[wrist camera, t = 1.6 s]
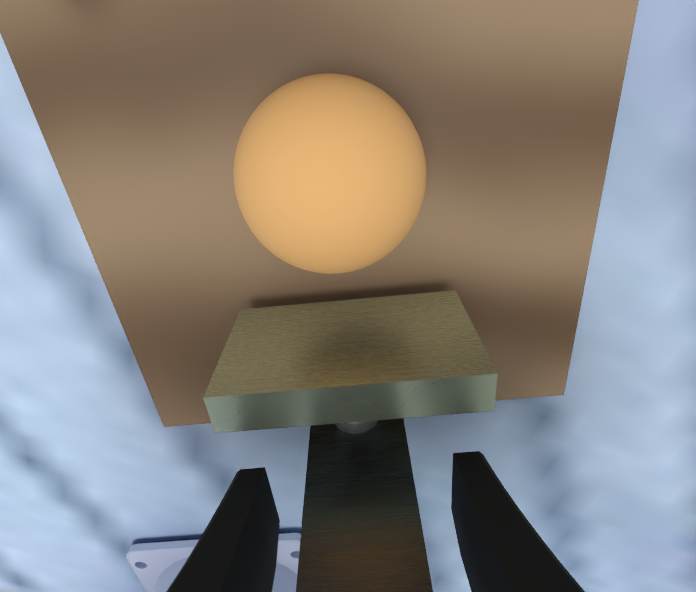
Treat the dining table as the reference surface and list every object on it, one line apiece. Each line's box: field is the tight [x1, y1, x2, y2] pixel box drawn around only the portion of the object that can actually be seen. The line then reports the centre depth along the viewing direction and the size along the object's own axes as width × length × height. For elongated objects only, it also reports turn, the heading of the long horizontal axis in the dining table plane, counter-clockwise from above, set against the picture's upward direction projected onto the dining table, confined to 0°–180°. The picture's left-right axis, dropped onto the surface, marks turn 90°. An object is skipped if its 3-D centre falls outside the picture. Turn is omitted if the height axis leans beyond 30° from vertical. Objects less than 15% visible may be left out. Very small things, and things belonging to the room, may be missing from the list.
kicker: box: [203, 290, 498, 592], centre depth 9 cm, size 5×6×8 cm
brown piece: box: [0, 0, 639, 427], centre depth 8 cm, size 20×14×6 cm
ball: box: [233, 73, 426, 274], centre depth 9 cm, size 4×4×4 cm
